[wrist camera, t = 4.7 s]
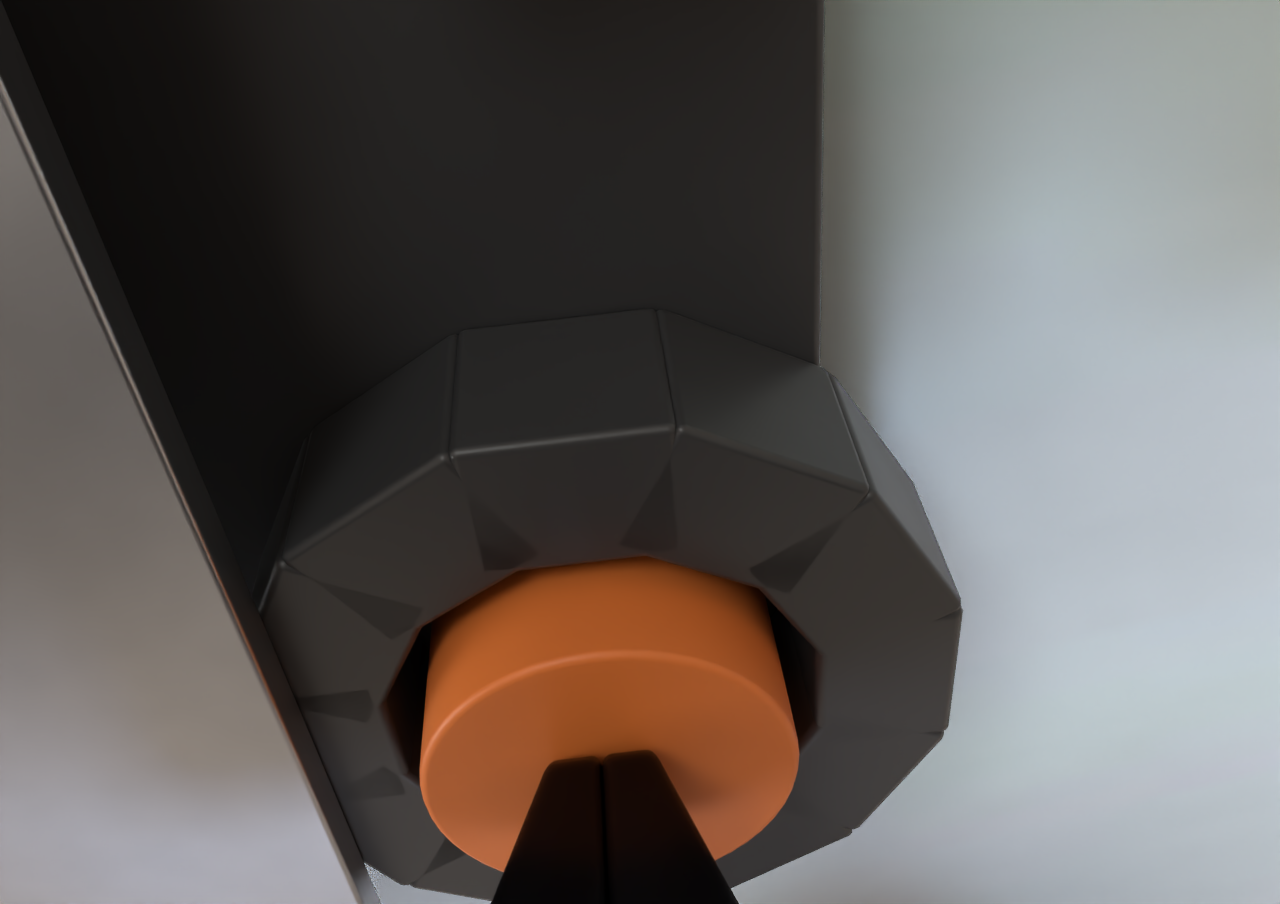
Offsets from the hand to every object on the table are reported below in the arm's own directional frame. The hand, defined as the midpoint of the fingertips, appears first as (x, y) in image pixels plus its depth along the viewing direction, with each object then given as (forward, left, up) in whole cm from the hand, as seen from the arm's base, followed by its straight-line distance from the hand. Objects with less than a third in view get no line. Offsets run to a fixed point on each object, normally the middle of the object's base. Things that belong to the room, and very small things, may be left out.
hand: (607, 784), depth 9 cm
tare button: (0, 0, -2) cm, 2 cm away
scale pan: (+7, +7, -1) cm, 10 cm away
